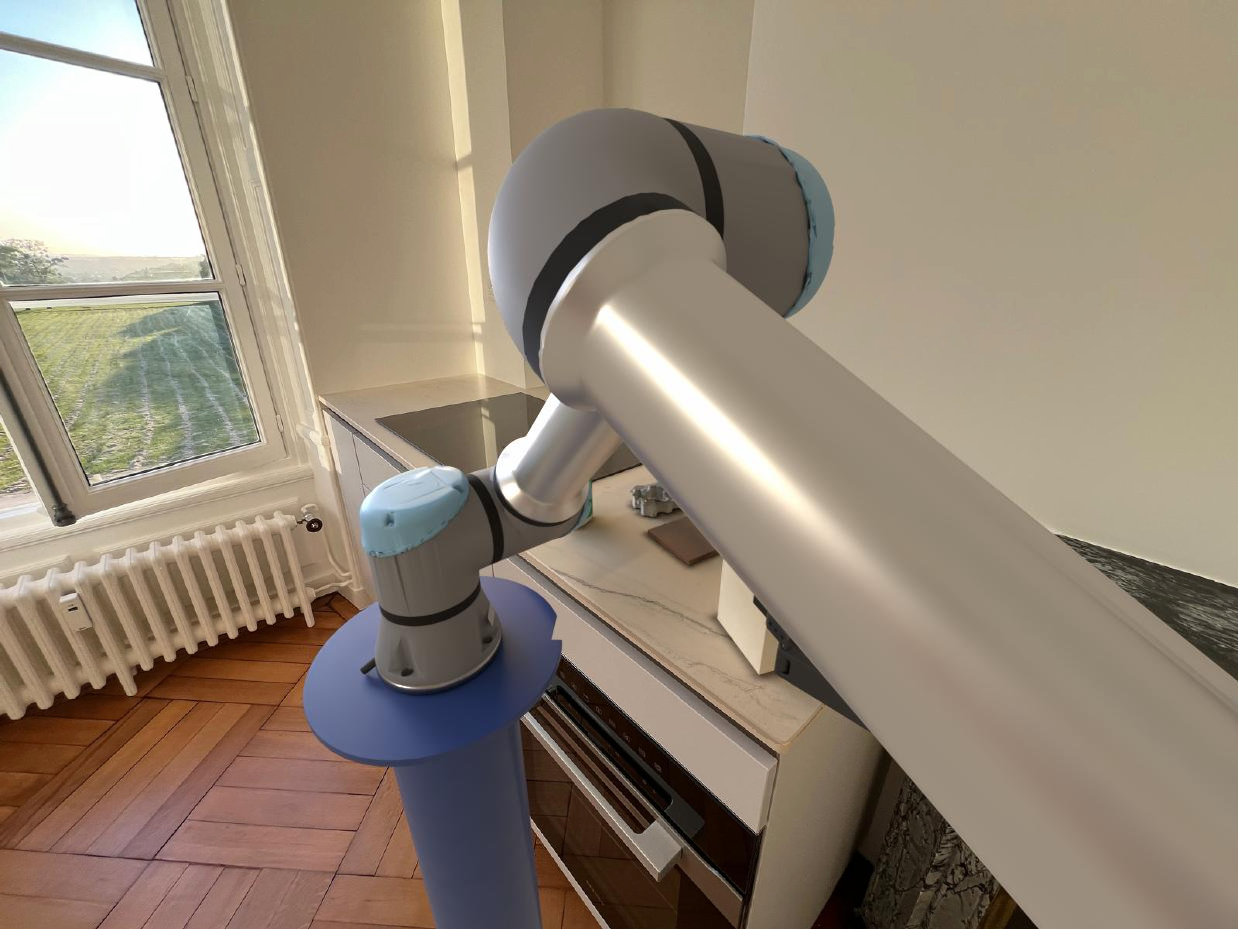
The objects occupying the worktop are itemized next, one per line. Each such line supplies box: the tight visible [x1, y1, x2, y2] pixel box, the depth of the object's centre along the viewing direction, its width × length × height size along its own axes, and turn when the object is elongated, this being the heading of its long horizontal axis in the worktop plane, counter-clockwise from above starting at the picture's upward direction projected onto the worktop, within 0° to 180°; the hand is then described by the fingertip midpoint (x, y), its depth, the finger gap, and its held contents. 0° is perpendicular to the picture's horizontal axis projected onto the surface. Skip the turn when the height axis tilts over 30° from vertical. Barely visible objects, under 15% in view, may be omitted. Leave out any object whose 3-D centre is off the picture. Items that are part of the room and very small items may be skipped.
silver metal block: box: [629, 481, 680, 518], centre depth 94 cm, size 11×8×4 cm
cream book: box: [717, 558, 779, 676], centre depth 59 cm, size 3×10×13 cm, turn 18°
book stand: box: [647, 516, 719, 566], centre depth 84 cm, size 23×11×14 cm, turn 123°
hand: (820, 575), depth 46 cm, fingers open, 13 cm apart
